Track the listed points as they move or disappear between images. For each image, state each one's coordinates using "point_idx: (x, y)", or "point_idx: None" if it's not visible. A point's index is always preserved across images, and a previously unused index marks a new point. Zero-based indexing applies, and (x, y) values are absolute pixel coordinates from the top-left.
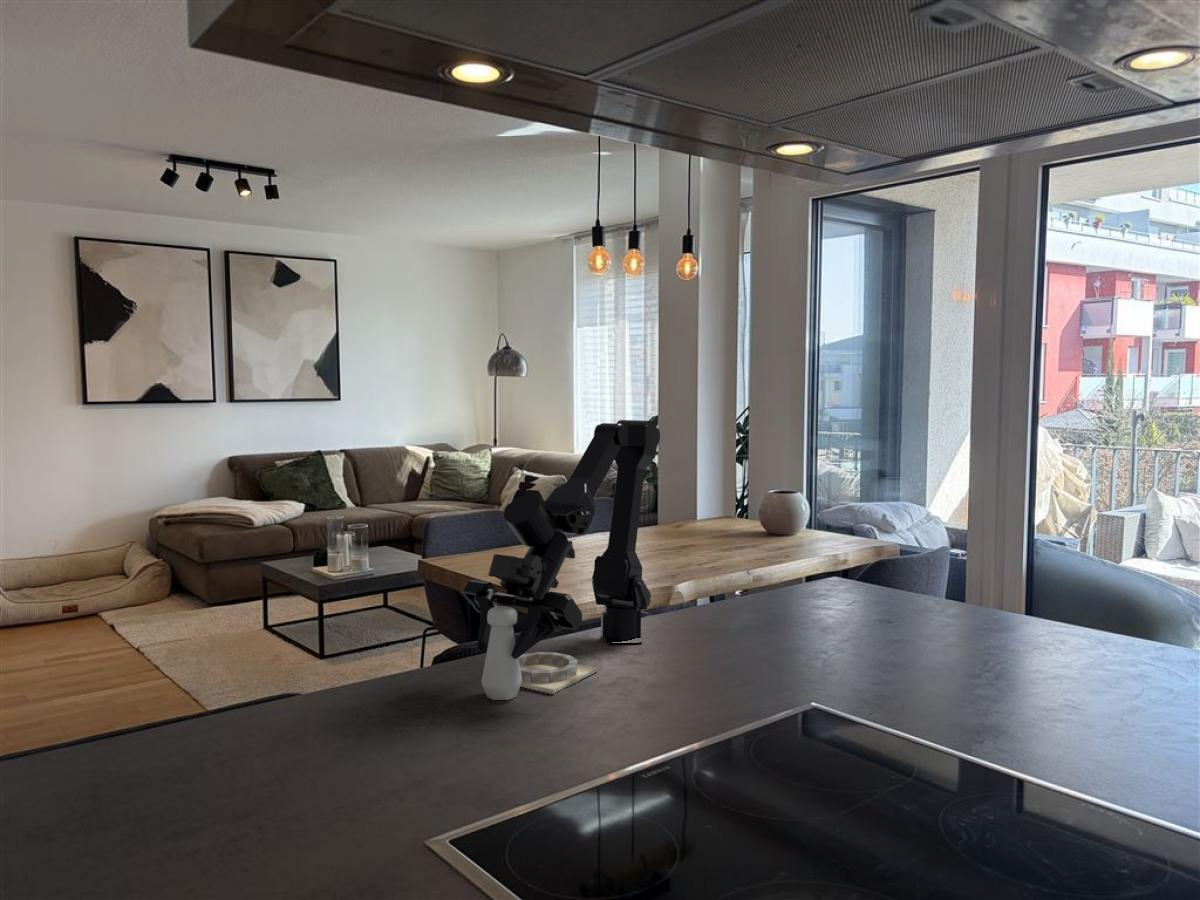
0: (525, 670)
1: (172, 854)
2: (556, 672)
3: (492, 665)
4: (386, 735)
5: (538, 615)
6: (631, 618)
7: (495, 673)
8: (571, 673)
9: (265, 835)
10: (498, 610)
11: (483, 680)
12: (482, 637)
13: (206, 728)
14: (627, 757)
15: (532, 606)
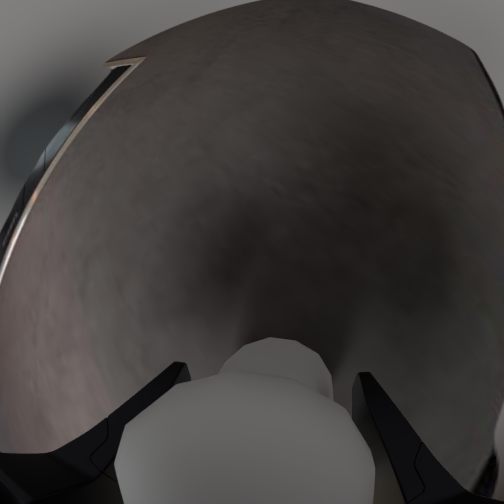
0: None
1: (278, 6)
2: None
3: (271, 349)
4: (327, 122)
5: (20, 457)
6: None
7: (258, 346)
8: None
9: (249, 20)
10: (208, 443)
11: (307, 348)
12: (368, 404)
13: (472, 90)
14: (24, 241)
15: (7, 480)
